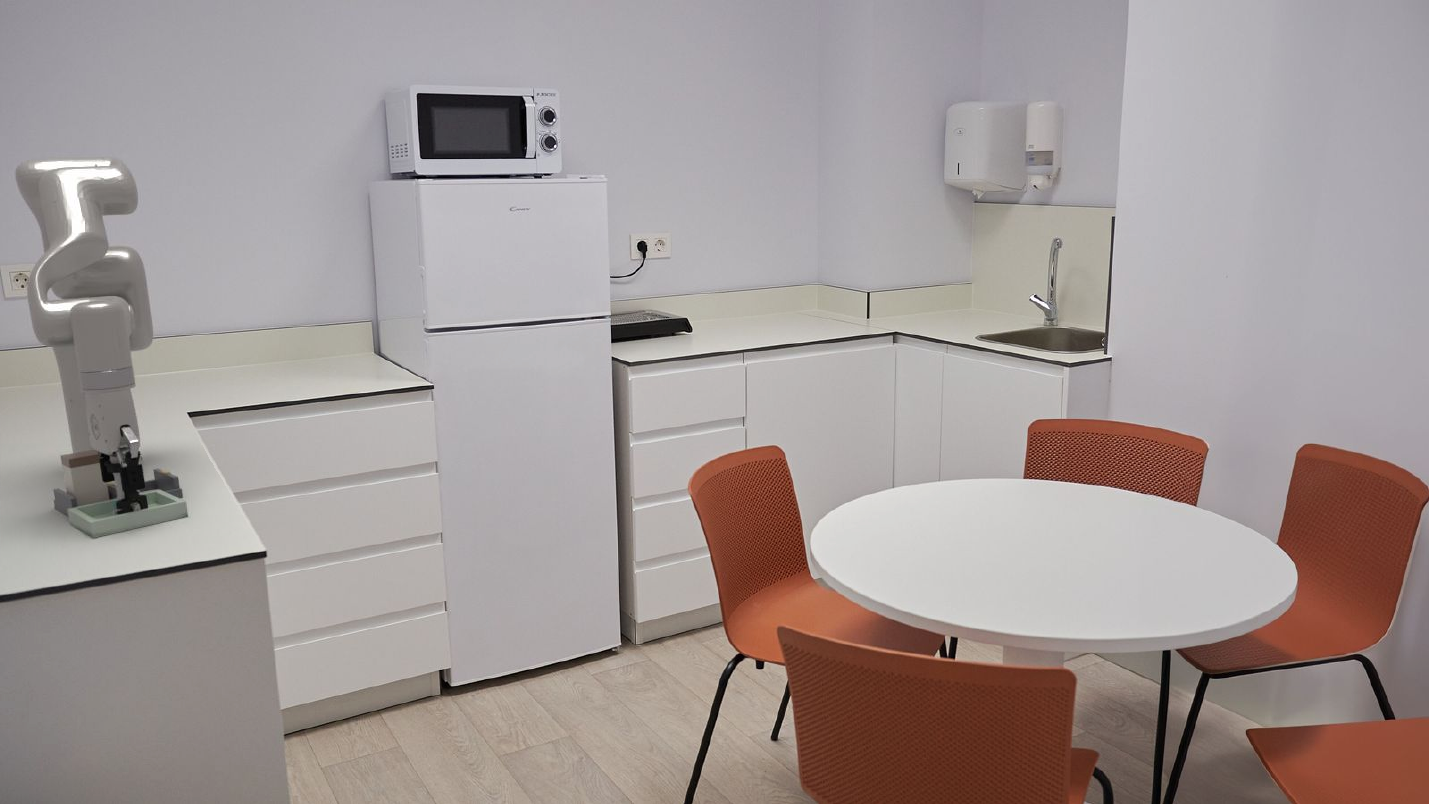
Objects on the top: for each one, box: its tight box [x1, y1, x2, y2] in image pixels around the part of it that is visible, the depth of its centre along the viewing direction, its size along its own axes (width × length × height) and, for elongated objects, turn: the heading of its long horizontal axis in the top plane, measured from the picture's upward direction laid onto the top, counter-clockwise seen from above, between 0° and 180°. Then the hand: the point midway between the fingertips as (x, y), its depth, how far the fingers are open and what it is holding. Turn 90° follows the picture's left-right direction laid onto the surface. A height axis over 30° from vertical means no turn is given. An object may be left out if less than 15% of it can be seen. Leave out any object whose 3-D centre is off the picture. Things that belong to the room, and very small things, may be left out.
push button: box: [104, 453, 148, 516], centre depth 176 cm, size 7×5×10 cm
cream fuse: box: [60, 450, 110, 507], centre depth 183 cm, size 5×5×10 cm
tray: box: [67, 489, 189, 539], centre depth 176 cm, size 12×14×2 cm
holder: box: [52, 468, 184, 517], centre depth 187 cm, size 12×17×4 cm
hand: (123, 485), depth 175 cm, fingers open, 9 cm apart
